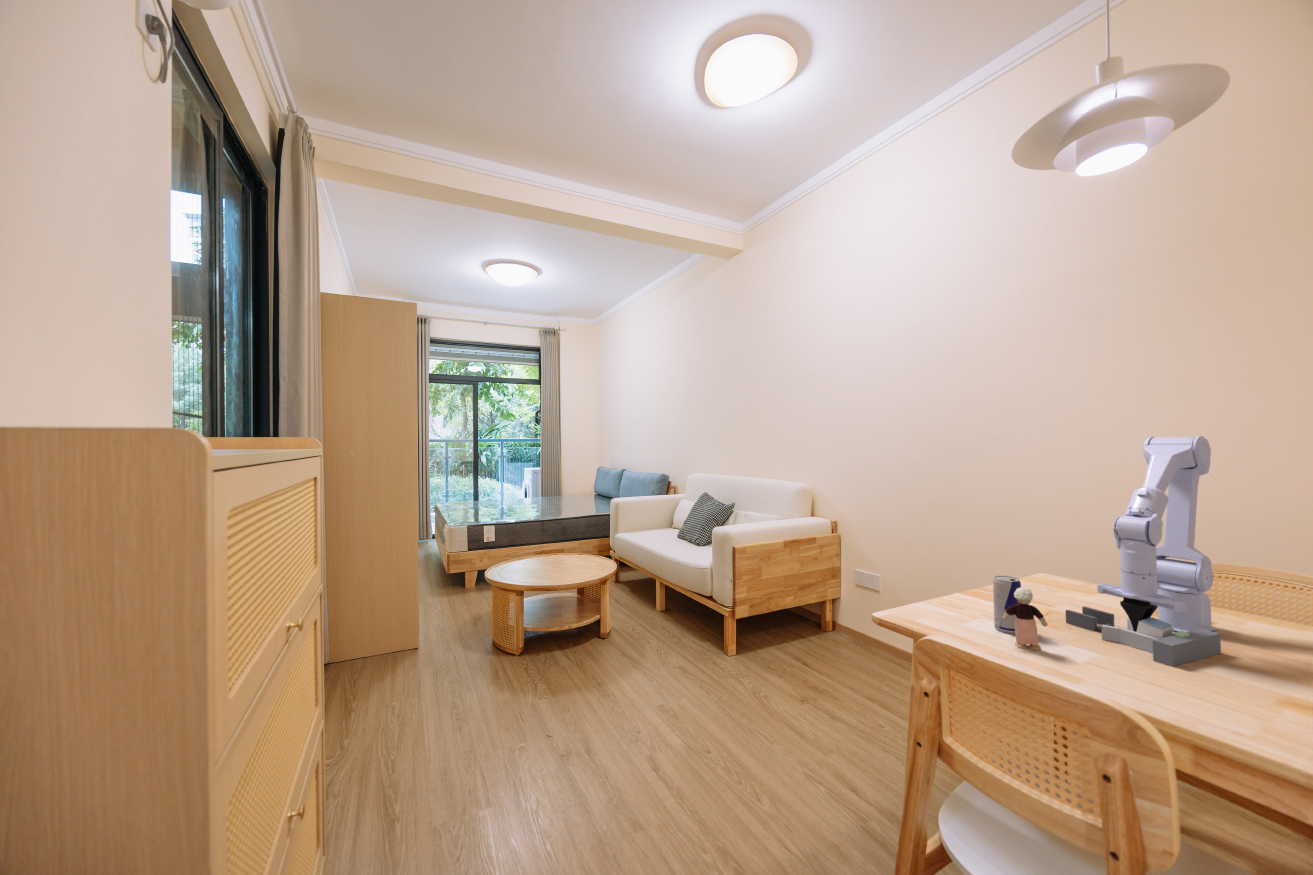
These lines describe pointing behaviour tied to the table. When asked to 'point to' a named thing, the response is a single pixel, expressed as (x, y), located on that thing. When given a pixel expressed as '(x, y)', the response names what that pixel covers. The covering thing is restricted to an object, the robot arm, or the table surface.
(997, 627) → the energy drink
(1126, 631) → the grey forked block
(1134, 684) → the table surface
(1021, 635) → the grandmother figurine
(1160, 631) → the plug
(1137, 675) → the table surface
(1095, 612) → the gray vise
